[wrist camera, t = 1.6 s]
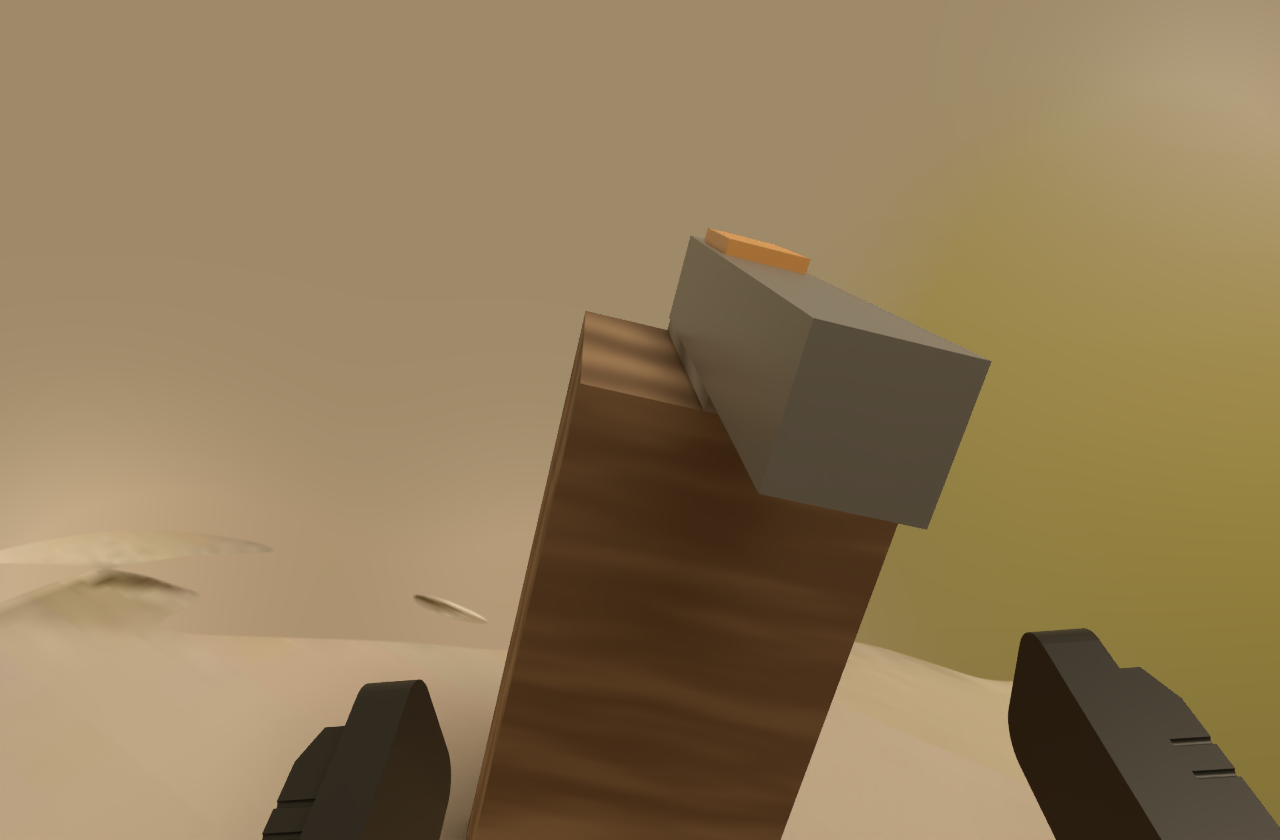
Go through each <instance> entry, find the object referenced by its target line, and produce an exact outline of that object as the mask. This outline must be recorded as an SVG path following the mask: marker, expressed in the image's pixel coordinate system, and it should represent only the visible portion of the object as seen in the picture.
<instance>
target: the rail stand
mask: <svg viewBox="0 0 1280 840" xmlns="http://www.w3.org/2000/svg"><path fill="white" fill-rule="evenodd" d="M897 525H898V523H894V522H889V521H885V520H880V519H875V518H870V517H866V516H861V515H856V514H852V513H847V512H842V511H838V510H833V509H828V508H823V507H819V506H814V505H809V504H805V503H800V502H795V501H791V500H786V499H781V498H776V497H772V496H767V495H762V494H758V492H757V490H756V488H755V486H754V484H753V482H752V480H751V478H750V476H749V474H748V472H747V470H746V468H745V466H744V464H743V462H742V460H741V458H740V456H739V454H738V452H737V450H736V448H735V446H734V444H733V442H732V440H731V438H730V436H729V434H728V432H727V430H726V428H725V426H724V424H723V422H722V420H721V418H720V416H719V414H718V412H717V410H716V409H715V407H714V405H713V403H712V401H711V399H710V397H709V395H708V393H707V391H706V389H705V387H704V385H703V383H702V381H701V379H700V377H699V375H698V373H697V371H696V369H695V367H694V365H693V363H692V361H691V359H690V357H689V355H688V353H687V351H686V349H685V347H684V345H683V343H682V341H681V339H680V337H679V335H678V333H677V331H676V329H675V327H674V325H673V323H672V322H671V320H670V323H669V327H668V330H664V329H660V328H655V327H652V326H647V325H643V324H638V323H634V322H630V321H626V320H622V319H618V318H613V317H609V316H604V315H601V314H596V313H592V312H587V311H586V312H585V317H584V321H583V325H582V329H581V334H580V338H579V343H578V348H577V352H576V356H575V360H574V365H573V369H572V374H571V378H570V383H569V387H568V391H567V396H566V400H565V404H564V408H563V413H562V417H561V422H560V426H559V431H558V435H557V439H556V444H555V448H554V453H553V457H552V461H551V466H550V470H549V475H548V479H547V484H546V487H545V492H544V496H543V501H542V505H541V509H540V514H539V518H538V523H537V527H536V531H535V536H534V540H533V545H532V549H531V553H530V558H529V562H528V566H527V571H526V575H525V580H524V584H523V588H522V593H521V597H520V602H519V606H518V610H517V615H516V619H515V624H514V628H513V632H512V637H511V641H510V645H509V650H508V654H507V659H506V663H505V667H504V672H503V676H502V680H501V685H500V689H499V694H498V698H497V702H496V707H495V711H494V716H493V720H492V724H491V729H490V733H489V738H488V742H487V746H486V751H485V755H484V759H483V764H482V768H481V773H480V777H479V781H478V786H477V790H476V795H475V799H474V803H473V808H472V812H471V817H470V821H469V826H468V831H467V836H466V840H781V837H782V834H783V832H784V829H785V826H786V824H787V821H788V818H789V815H790V813H791V810H792V807H793V805H794V802H795V799H796V797H797V794H798V791H799V789H800V786H801V783H802V780H803V778H804V775H805V772H806V770H807V767H808V764H809V762H810V759H811V756H812V754H813V751H814V748H815V746H816V743H817V740H818V737H819V735H820V732H821V729H822V727H823V724H824V721H825V719H826V716H827V713H828V711H829V708H830V705H831V702H832V700H833V697H834V694H835V692H836V689H837V686H838V684H839V681H840V678H841V676H842V673H843V670H844V668H845V665H846V662H847V659H848V657H849V654H850V651H851V649H852V646H853V643H854V641H855V638H856V635H857V633H858V630H859V627H860V624H861V622H862V619H863V616H864V613H865V611H866V608H867V606H868V603H869V600H870V598H871V595H872V592H873V589H874V587H875V584H876V581H877V579H878V576H879V573H880V570H881V568H882V565H883V563H884V560H885V557H886V554H887V552H888V549H889V546H890V544H891V541H892V538H893V536H894V533H895V530H896V527H897Z"/></svg>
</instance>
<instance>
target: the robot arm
mask: <svg viewBox="0 0 1280 840" xmlns="http://www.w3.org/2000/svg"><path fill="white" fill-rule="evenodd" d="M1008 724H1009V732H1010V738H1011V742H1012V746H1013V749H1014V752H1015V755H1016V758H1017V760H1018V762H1019V765H1020V767H1021V769H1022V771H1023V773H1024V775H1025V777H1026V779H1027V781H1028V783H1029V785H1030V787H1031V789H1032V791H1033V793H1034V795H1035V797H1036V799H1037V802H1038V804H1039V806H1040V808H1041V810H1042V812H1043V814H1044V816H1045V818H1046V820H1047V822H1048V824H1049V826H1050V828H1051V830H1052V832H1053V834H1054V836H1055V839H1056V840H1280V827H1279V826H1278V824H1277V823H1276V822H1275V821H1274V819H1273V818H1272V816H1271V815H1270V814H1269V813H1268V811H1267V810H1266V809H1265V807H1264V806H1263V805H1262V803H1261V802H1260V801H1259V799H1258V798H1257V797H1256V795H1255V794H1254V793H1253V791H1252V790H1251V789H1250V788H1249V787H1248V785H1247V784H1246V782H1245V781H1244V780H1243V778H1242V777H1238V776H1237V775H1236V773H1235V768H1234V767H1233V765H1232V764H1231V763H1230V761H1229V760H1228V759H1227V757H1226V756H1225V755H1224V753H1223V752H1222V751H1221V750H1220V748H1219V747H1218V746H1217V744H1213V743H1212V742H1211V739H1210V735H1209V734H1208V732H1207V731H1206V730H1205V728H1204V727H1203V726H1202V725H1201V723H1200V722H1199V721H1198V719H1197V718H1196V717H1195V715H1194V714H1193V713H1192V711H1191V710H1190V709H1189V707H1188V706H1187V705H1186V703H1185V702H1184V701H1183V700H1182V698H1180V697H1179V696H1178V695H1177V694H1175V693H1174V692H1173V691H1171V690H1170V689H1168V688H1167V687H1166V686H1164V685H1163V684H1162V683H1161V682H1159V681H1158V680H1157V679H1155V678H1154V677H1152V676H1151V675H1150V674H1149V673H1147V672H1146V671H1145V670H1143V669H1142V668H1140V667H1134V668H1119V667H1118V666H1117V664H1116V663H1115V661H1114V660H1113V659H1112V657H1111V656H1110V654H1109V653H1108V652H1107V650H1106V648H1105V647H1104V646H1103V645H1102V643H1101V641H1100V640H1099V639H1098V637H1097V636H1096V635H1095V634H1094V633H1093V632H1092V631H1090V630H1088V629H1085V628H1082V629H1068V630H1056V631H1041V632H1029V633H1025V634H1024V635H1023V636H1022V638H1021V641H1020V646H1019V652H1018V657H1017V664H1016V669H1015V675H1014V681H1013V687H1012V693H1011V698H1010V704H1009V711H1008ZM450 785H451V766H450V758H449V753H448V749H447V746H446V743H445V740H444V737H443V734H442V731H441V728H440V725H439V722H438V719H437V716H436V713H435V710H434V707H433V704H432V701H431V698H430V695H429V692H428V689H427V686H426V684H425V683H424V682H423V681H422V680H408V681H395V682H381V683H368V684H366V685H364V686H363V687H362V688H361V690H360V691H359V693H358V695H357V697H356V700H355V702H354V705H353V707H352V710H351V712H350V715H349V717H348V720H347V722H346V725H345V726H339V727H325V728H324V729H323V730H322V731H321V733H320V734H319V735H318V736H317V737H316V738H315V739H314V741H313V742H312V743H311V744H310V745H309V746H308V747H307V749H306V750H305V751H304V752H303V753H302V754H301V755H300V757H299V758H298V759H297V760H296V761H295V763H294V765H293V767H292V769H291V771H290V774H289V776H288V778H287V780H286V783H285V785H284V787H283V789H282V791H281V794H280V796H279V798H278V800H277V803H278V805H277V808H276V809H273V811H272V814H271V816H270V818H269V820H268V822H267V825H266V827H265V829H264V831H263V833H262V834H263V839H262V840H439V838H440V834H441V830H442V826H443V822H444V818H445V813H446V809H447V805H448V800H449V795H450Z"/></svg>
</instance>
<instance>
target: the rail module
mask: <svg viewBox="0 0 1280 840" xmlns="http://www.w3.org/2000/svg"><path fill="white" fill-rule="evenodd" d="M809 262H810V259H809V258H806V257H804V256H802V255H799V254H797V253H794V252H792V251H789V250H787V249H784V248H781V247H779V246H777V245H773V244H770V243H765V242H762V241H758V240H753V239H750V238H746V237H742V236H738V235H734V234H730V233H726V232H722V231H718V230H714V229H710V228H708V230H707V233H706V237H705V239H702V238H698V237H694V236H690V240H689V245H688V248H687V252H686V256H685V260H684V263H683V267H682V271H681V275H680V279H679V283H678V286H677V290H676V294H675V298H674V302H673V306H672V310H671V313H670V317H669V318H670V320H671V322H672V323H673V325H674V327H675V329H676V331H677V333H678V335H679V337H680V339H681V341H682V343H683V345H684V347H685V349H686V351H687V353H688V355H689V357H690V359H691V361H692V363H693V365H694V367H695V369H696V371H697V373H698V375H699V377H700V379H701V381H702V383H703V385H704V387H705V389H706V391H707V393H708V395H709V397H710V399H711V401H712V403H713V405H714V407H715V409H716V410H717V412H718V414H719V416H720V418H721V420H722V422H723V424H724V426H725V428H726V430H727V432H728V434H729V436H730V438H731V440H732V442H733V444H734V446H735V448H736V450H737V452H738V454H739V456H740V458H741V460H742V462H743V464H744V466H745V468H746V470H747V472H748V474H749V476H750V478H751V480H752V482H753V484H754V486H755V488H756V490H757V492H758V494H762V495H767V496H772V497H776V498H781V499H786V500H791V501H795V502H800V503H805V504H809V505H814V506H819V507H823V508H828V509H833V510H838V511H842V512H847V513H852V514H856V515H861V516H866V517H870V518H875V519H880V520H885V521H889V522H894V523H899V524H903V525H908V526H913V527H917V528H922V529H927V528H928V525H929V523H930V520H931V518H932V515H933V512H934V509H935V507H936V504H937V502H938V499H939V497H940V494H941V492H942V489H943V486H944V484H945V481H946V478H947V476H948V473H949V471H950V468H951V465H952V463H953V460H954V458H955V455H956V452H957V450H958V447H959V445H960V442H961V439H962V437H963V434H964V432H965V429H966V426H967V424H968V421H969V419H970V416H971V413H972V411H973V408H974V406H975V403H976V400H977V398H978V395H979V392H980V390H981V387H982V385H983V382H984V380H985V376H986V374H987V372H988V369H989V367H990V364H991V361H990V360H988V359H986V358H983V357H981V356H979V355H977V354H975V353H973V352H971V351H969V350H967V349H965V348H963V347H961V346H959V345H956V344H954V343H952V342H950V341H948V340H946V339H943V338H942V337H939V336H938V335H936V334H933V333H931V332H929V331H927V330H925V329H923V328H921V327H919V326H917V325H915V324H913V323H910V322H908V321H906V320H904V319H902V318H900V317H898V316H896V315H894V314H892V313H889V312H887V311H885V310H883V309H881V308H879V307H877V306H875V305H873V304H871V303H868V302H866V301H864V300H862V299H860V298H858V297H856V296H854V295H852V294H850V293H848V292H846V291H844V290H841V289H839V288H837V287H835V286H833V285H831V284H829V283H827V282H825V281H823V280H820V279H818V278H816V277H814V276H812V275H810V274H808V273H806V272H807V268H808V265H809Z"/></svg>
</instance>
